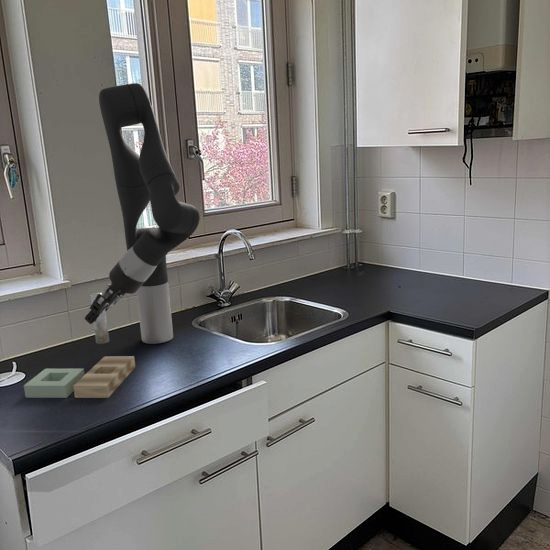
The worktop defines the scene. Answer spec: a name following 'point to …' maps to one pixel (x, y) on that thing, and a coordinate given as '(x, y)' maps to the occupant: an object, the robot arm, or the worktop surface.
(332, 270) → the worktop surface
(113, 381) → the notched wooden block
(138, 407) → the worktop surface
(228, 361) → the worktop surface
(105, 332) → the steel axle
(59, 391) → the holder block
